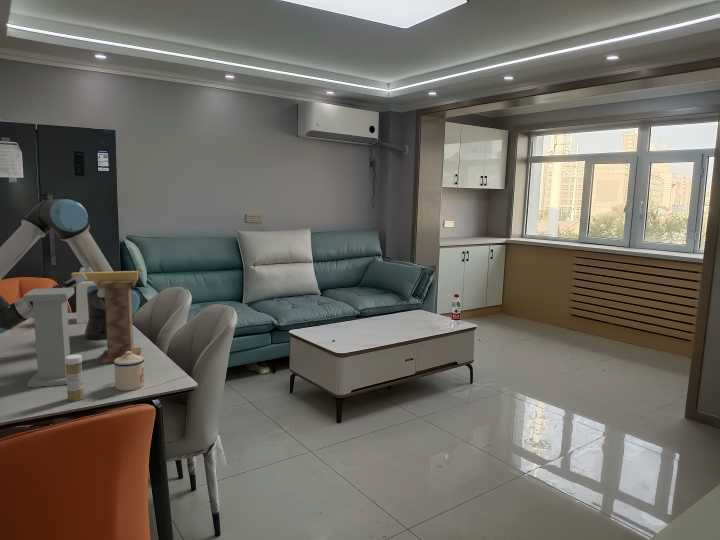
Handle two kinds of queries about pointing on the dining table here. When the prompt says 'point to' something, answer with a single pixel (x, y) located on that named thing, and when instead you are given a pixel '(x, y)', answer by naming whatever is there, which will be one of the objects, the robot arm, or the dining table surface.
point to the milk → (82, 300)
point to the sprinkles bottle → (74, 377)
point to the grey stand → (50, 334)
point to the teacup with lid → (129, 372)
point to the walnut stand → (118, 319)
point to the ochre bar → (108, 275)
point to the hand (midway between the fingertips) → (88, 273)
